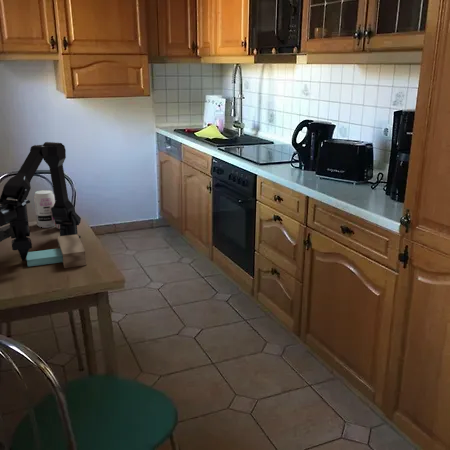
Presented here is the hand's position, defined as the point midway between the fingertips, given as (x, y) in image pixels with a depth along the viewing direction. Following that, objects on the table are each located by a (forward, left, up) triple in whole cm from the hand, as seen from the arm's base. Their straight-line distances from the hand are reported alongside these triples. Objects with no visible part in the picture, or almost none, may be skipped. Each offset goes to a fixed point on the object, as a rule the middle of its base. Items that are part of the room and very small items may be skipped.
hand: (23, 260), depth 184 cm
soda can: (-37, -17, -1) cm, 41 cm away
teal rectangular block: (-6, +4, -1) cm, 7 cm away
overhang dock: (-13, +10, -1) cm, 17 cm away
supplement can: (-36, -26, -1) cm, 45 cm away
